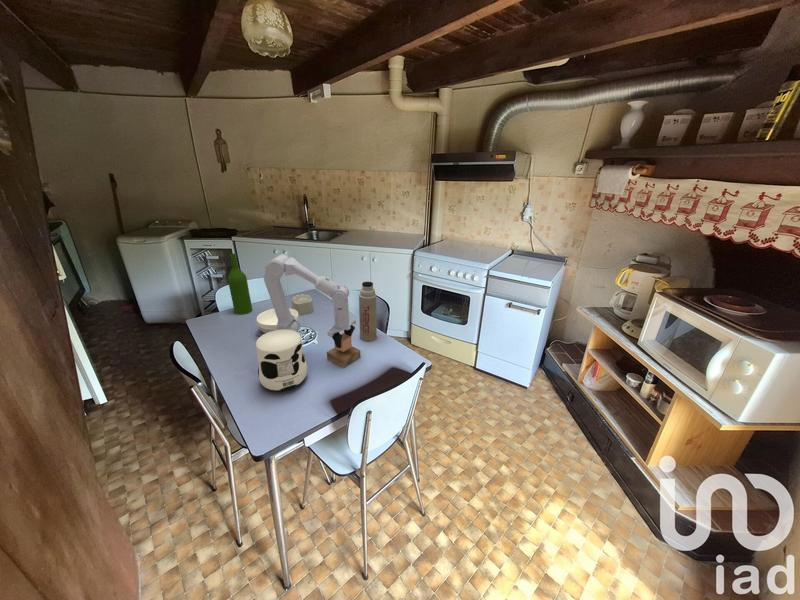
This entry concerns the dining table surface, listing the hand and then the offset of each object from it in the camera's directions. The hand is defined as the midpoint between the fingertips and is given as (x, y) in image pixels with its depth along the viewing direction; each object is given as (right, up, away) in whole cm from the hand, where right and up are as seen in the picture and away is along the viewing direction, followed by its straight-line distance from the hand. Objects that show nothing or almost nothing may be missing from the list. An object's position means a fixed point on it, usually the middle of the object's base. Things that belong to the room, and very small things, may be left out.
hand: (343, 344), depth 130 cm
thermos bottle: (+9, +1, +20) cm, 21 cm away
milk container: (-20, -12, -11) cm, 26 cm away
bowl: (-35, +3, +22) cm, 42 cm away
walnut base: (0, -7, +3) cm, 7 cm away
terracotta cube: (0, -1, +1) cm, 1 cm away
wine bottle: (-63, +12, +41) cm, 76 cm away
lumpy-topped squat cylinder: (-31, +13, +45) cm, 56 cm away
